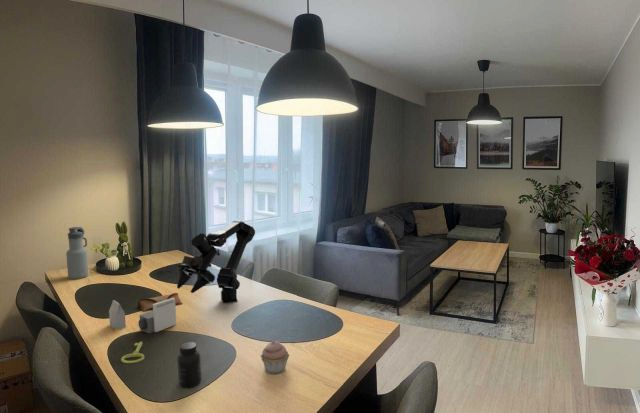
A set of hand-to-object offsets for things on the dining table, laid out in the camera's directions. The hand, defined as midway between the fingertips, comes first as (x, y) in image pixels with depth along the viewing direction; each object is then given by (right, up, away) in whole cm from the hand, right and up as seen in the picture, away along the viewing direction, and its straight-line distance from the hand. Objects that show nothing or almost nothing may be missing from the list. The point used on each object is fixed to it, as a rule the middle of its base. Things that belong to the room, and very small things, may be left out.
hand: (184, 290), depth 168 cm
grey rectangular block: (-10, -14, -5) cm, 18 cm away
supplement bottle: (+16, -19, -44) cm, 50 cm away
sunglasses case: (-17, -11, +19) cm, 28 cm away
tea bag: (-26, -14, -3) cm, 29 cm away
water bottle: (-79, -5, +61) cm, 100 cm away
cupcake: (+41, -18, -36) cm, 58 cm away
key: (-8, -17, -27) cm, 33 cm away
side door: (-5, -14, -6) cm, 16 cm away
